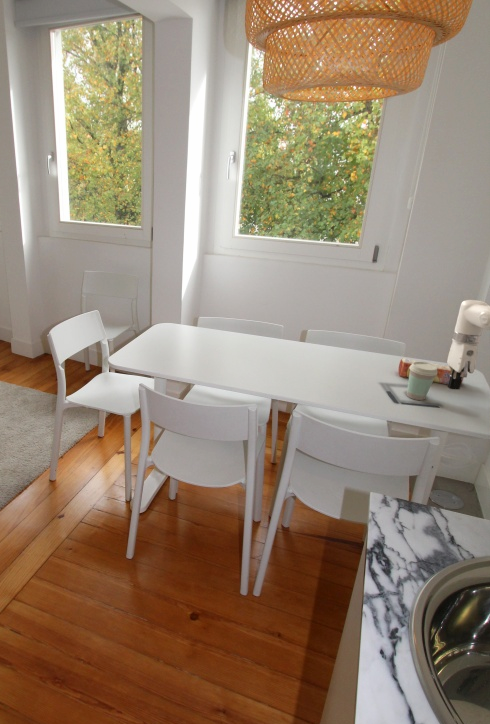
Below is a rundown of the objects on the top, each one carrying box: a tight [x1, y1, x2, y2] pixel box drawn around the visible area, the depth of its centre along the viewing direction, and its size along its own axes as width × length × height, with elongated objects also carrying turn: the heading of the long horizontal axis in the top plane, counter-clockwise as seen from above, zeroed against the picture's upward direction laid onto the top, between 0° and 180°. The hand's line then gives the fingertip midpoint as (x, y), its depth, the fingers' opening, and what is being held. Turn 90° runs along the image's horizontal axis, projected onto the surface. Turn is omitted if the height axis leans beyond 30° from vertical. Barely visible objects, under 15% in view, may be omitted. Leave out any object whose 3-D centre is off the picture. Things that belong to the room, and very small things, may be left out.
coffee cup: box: [406, 360, 438, 401], centre depth 163 cm, size 8×8×12 cm
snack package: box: [398, 357, 465, 385], centre depth 178 cm, size 21×7×7 cm, turn 67°
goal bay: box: [386, 390, 441, 409], centre depth 166 cm, size 16×14×1 cm
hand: (453, 388), depth 162 cm, fingers closed
